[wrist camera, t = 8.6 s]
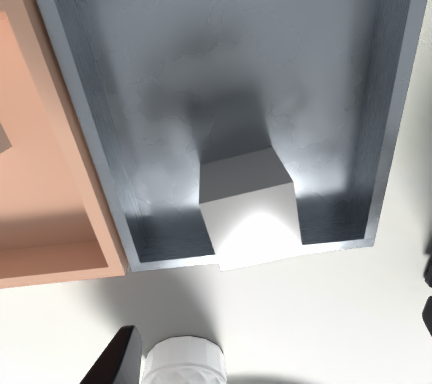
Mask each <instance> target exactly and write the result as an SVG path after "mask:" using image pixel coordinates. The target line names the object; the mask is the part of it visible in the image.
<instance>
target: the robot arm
mask: <svg viewBox="0 0 432 384" xmlns="http://www.w3.org/2000/svg"><path fill="white" fill-rule="evenodd" d="M425 282H426V283H427V284H428V285H429V287H431V288H432V262H431V265H430V267H429V270H428V273H427V275H426V278H425ZM422 317H423V321H424V323H425V325H426V327H427V329H428V331H429V332H430V334H431V336H432V296H430V297H428V299H427V302H426V304H425V307H424V309H423V312H422ZM141 355H142V341H141V338H140V336H139V333H138V331H137V328H136V326H134V325H131V326H123V327H121V328H120V329H119V331H118V332H117V333H116V335H115V336H114V338H113V339H112V340H111V342H110V343H109V344H108V346H107V347H106V348H105V350H104V351H103V352H102V354H101V355H100V357H99V358H98V359H97V361H96V362H95V363H94V365H93V366H92V367H91V369H90V370H89V371H88V373H87V374H86V376H85V377H84V378H83V380H82V381H81V382H80V384H139V376H140V365H141Z"/></svg>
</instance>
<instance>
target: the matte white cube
mask: <svg viewBox="0 0 432 384" xmlns="http://www.w3.org/2000/svg"><path fill="white" fill-rule="evenodd" d="M11 147H12V145H11V143H10V141H9V139H8V137H7V135H6V133H5V131H4V129H3V127H2V125H1V123H0V153H2V152H4V151H5V150H7V149H9V148H11Z"/></svg>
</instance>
